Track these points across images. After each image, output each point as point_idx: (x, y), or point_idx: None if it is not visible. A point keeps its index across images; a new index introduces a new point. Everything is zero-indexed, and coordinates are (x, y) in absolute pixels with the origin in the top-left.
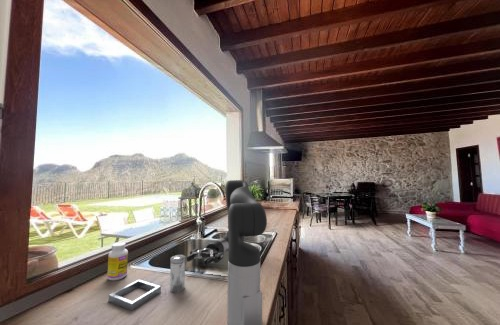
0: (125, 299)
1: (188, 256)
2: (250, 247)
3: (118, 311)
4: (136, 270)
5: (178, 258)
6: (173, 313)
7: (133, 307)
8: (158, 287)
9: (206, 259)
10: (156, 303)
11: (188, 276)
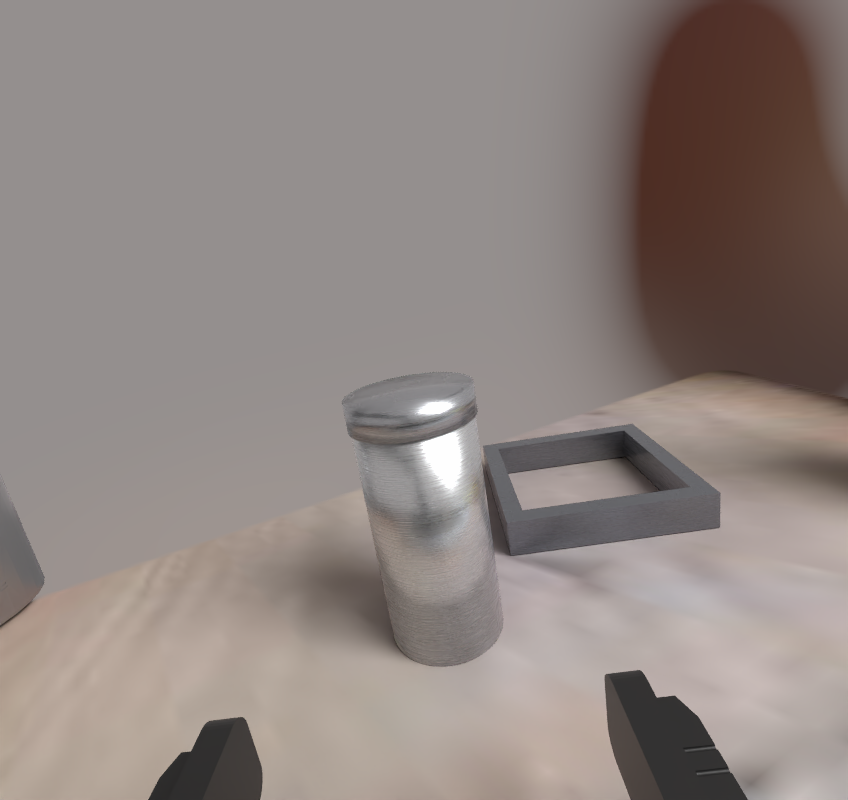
0: (535, 441)
1: (616, 677)
2: None
3: None
4: None
5: (390, 389)
6: (313, 524)
7: (486, 466)
8: (505, 514)
9: (192, 751)
10: None
11: None
